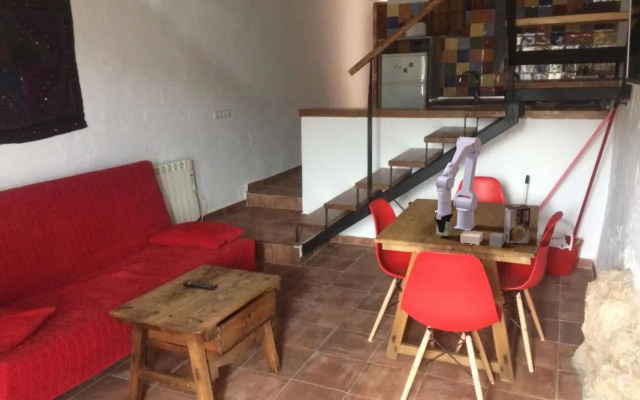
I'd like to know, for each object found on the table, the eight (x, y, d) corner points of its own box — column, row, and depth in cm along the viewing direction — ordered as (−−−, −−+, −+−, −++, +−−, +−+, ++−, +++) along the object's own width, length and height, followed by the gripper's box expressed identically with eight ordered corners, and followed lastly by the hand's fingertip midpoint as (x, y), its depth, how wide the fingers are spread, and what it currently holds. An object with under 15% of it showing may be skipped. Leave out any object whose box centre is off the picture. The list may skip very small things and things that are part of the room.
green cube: (440, 231, 237) (440, 221, 235) (450, 232, 234) (450, 222, 233) (436, 234, 232) (436, 223, 231) (446, 235, 230) (447, 225, 229)
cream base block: (464, 238, 232) (464, 230, 231) (482, 240, 228) (482, 232, 227) (460, 243, 225) (460, 235, 224) (478, 245, 221) (479, 237, 220)
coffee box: (522, 238, 228) (525, 204, 224) (528, 243, 222) (531, 207, 218) (502, 239, 228) (504, 204, 224) (508, 244, 222) (510, 208, 218)
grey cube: (492, 242, 224) (492, 232, 223) (503, 244, 222) (504, 233, 220) (489, 246, 220) (489, 235, 219) (501, 248, 217) (501, 236, 216)
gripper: (441, 197, 238) (440, 225, 241) (430, 204, 226) (429, 233, 229) (456, 199, 234) (455, 227, 237) (445, 206, 222) (444, 235, 225)
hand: (443, 230), depth 233 cm, fingers closed on green cube, 5 cm apart
